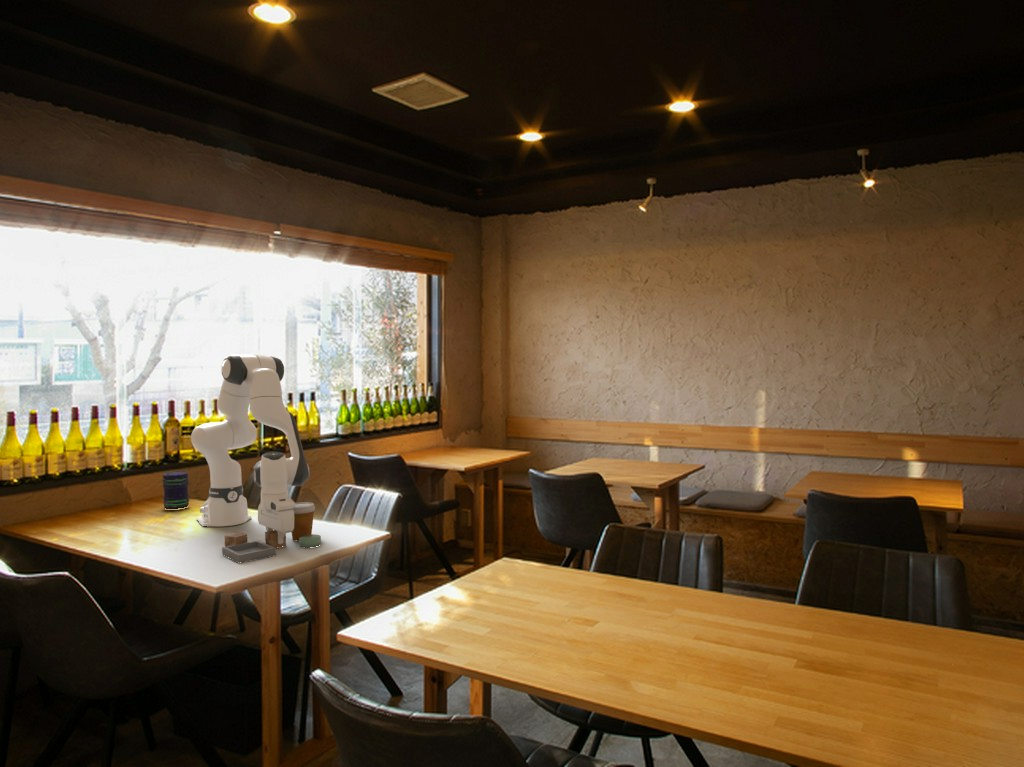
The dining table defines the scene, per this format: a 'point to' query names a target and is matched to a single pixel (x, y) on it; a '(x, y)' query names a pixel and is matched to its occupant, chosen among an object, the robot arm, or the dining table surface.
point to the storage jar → (175, 490)
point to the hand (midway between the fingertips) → (275, 541)
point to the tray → (248, 551)
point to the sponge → (310, 541)
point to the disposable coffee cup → (303, 519)
